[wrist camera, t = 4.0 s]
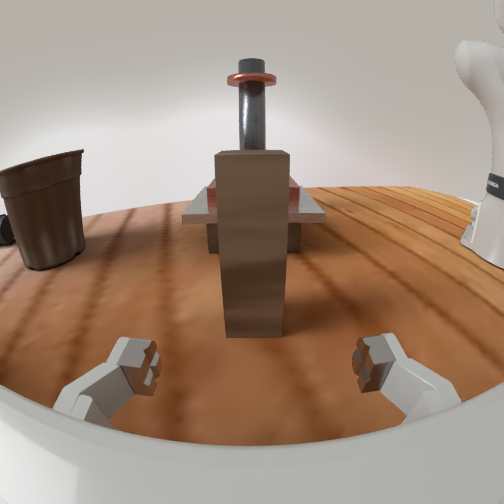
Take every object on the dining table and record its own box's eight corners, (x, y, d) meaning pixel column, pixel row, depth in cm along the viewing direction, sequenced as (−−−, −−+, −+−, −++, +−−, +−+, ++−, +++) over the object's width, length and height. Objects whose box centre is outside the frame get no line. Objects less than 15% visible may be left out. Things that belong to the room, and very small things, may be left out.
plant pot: (85, 230, 47) (73, 151, 40) (110, 251, 37) (94, 144, 30) (16, 256, 36) (-2, 173, 29) (17, 289, 26) (-12, 174, 19)
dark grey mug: (-13, 249, 39) (-20, 223, 37) (5, 238, 46) (-1, 213, 43) (5, 250, 39) (-3, 220, 36) (24, 237, 45) (18, 209, 43)
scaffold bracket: (321, 260, 34) (325, 22, 21) (186, 261, 34) (176, 23, 21) (292, 206, 57) (293, 68, 45) (213, 206, 57) (209, 69, 45)
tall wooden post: (281, 336, 21) (289, 154, 15) (226, 337, 21) (214, 155, 15) (277, 305, 25) (281, 150, 20) (229, 305, 25) (222, 150, 20)
